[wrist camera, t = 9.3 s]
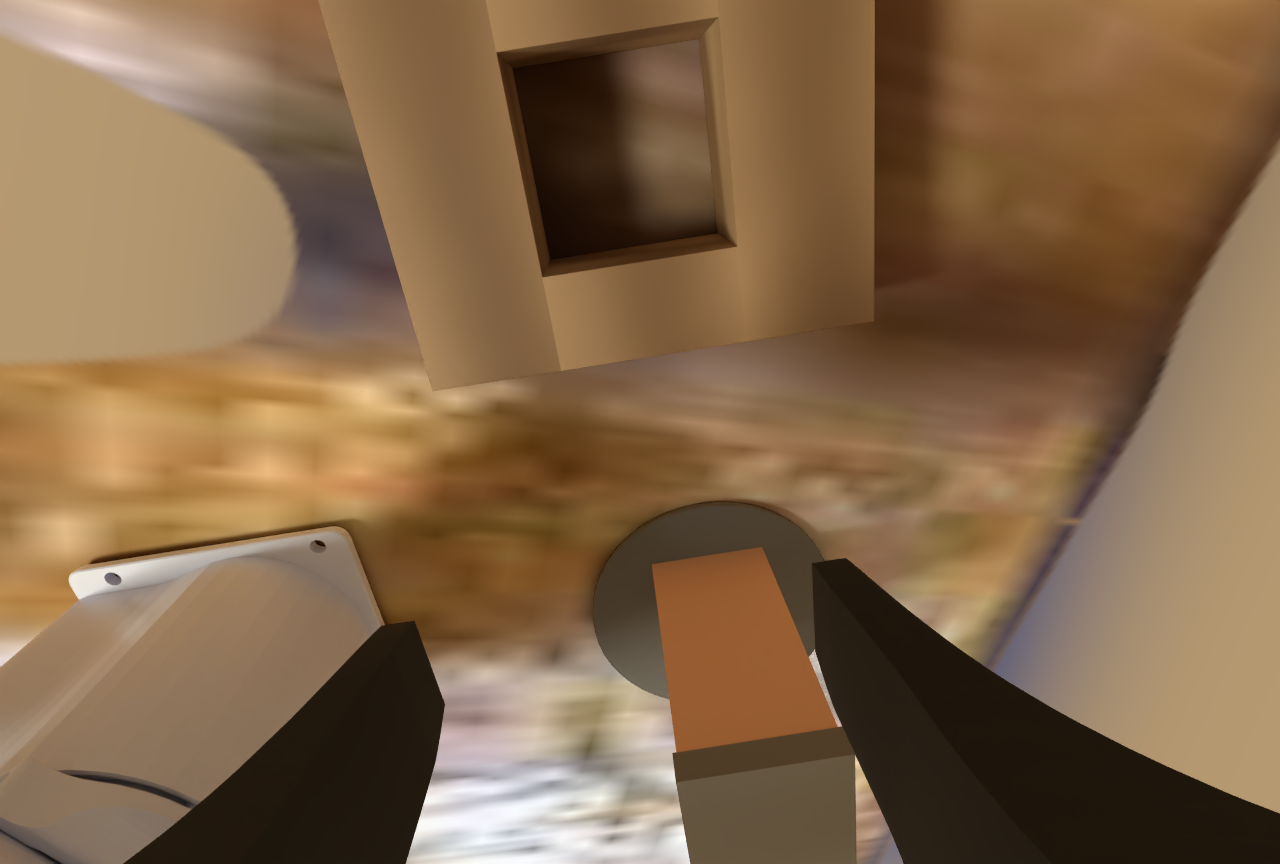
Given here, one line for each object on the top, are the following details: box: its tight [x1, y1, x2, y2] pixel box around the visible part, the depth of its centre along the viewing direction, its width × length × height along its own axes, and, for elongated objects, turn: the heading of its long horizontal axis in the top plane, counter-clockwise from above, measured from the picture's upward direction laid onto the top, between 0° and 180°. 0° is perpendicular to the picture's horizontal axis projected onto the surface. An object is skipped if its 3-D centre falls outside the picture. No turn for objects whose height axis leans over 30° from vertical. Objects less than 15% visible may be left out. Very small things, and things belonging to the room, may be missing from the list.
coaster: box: [593, 502, 824, 699], centre depth 24 cm, size 9×9×1 cm
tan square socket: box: [318, 0, 875, 391], centre depth 17 cm, size 12×10×3 cm
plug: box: [652, 547, 856, 864], centre depth 20 cm, size 4×4×9 cm
